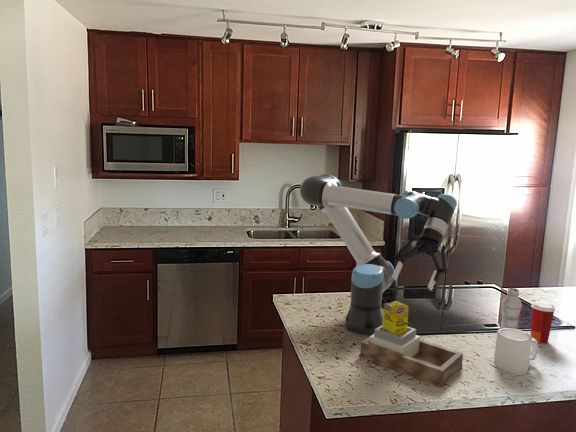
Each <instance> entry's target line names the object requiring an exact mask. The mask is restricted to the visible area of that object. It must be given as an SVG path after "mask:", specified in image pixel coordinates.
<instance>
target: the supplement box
mask: <svg viewBox="0 0 576 432" xmlns="http://www.w3.org/2000/svg"><path fill="white" fill-rule="evenodd" d="M409 307H410V306H409V305H407V304H405V303H402V302H401V301H398V300H395V301H390V302H386V303H383V311H382V314H383V325H382V330H383V331H386V332H389V333H392V334H395V335H398V336H402V335H404V334H405V333H407V326H408V322H409V321H408V320H409V309H410V308H409Z"/></svg>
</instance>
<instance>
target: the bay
mask: <svg viewBox="0 0 576 432" xmlns="http://www.w3.org/2000/svg"><path fill="white" fill-rule="evenodd" d="M359 357H360V358H362V359H363V360H364V359H365V360H367V361H370V362H373V363H375V364H378V365H381V366H383V367H385V368H388V369H390V370H394V371H396V372H399V373H401V374H404V375H406V376H409V377H412V378H414V379H417V380H419V381H421V382H424V383H426V384H430V385H431V386H432V385H433V386H434V387H438V388H442V387H443V386H444V385H445V384H446V383H447V382H448V381H449V380H450V379H451V378H452V377H454V375H456V374H457V373H458V372H459V371H460V370H461V369H462V368H463V358H464V353H463V352H462V351H461V352H460V351H457V350H454V349H452V348H449V347H445V346H442V345H439V344H436V343H433V342H430V341H426V340H424V339H421V338H420V342H419V353H417V354H416V355H414V356H413V357H412V358H411V357H409V356H406V355H403V354H400V353H397V352H394V351H392V350H389V349H386V348H383V347H380V346H378V345H375V344H372V343H370V336H369V337H367V338H365V339H363V340H361V342H360V352H359Z"/></svg>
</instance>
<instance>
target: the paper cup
mask: <svg viewBox="0 0 576 432" xmlns="http://www.w3.org/2000/svg"><path fill="white" fill-rule="evenodd" d="M530 307H531V320H530V321H531V325H530V335H531V336H532V338H534V339H535V340H536V341H537V344H543V345H545V344H548V342H549V338H550V333H551V328H552V323H553V319H554V313H555V312H556V308H555V305H554V304H553V303H550V302H547V301H540V300H536V301H533V302H532V303H531V305H530Z"/></svg>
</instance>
